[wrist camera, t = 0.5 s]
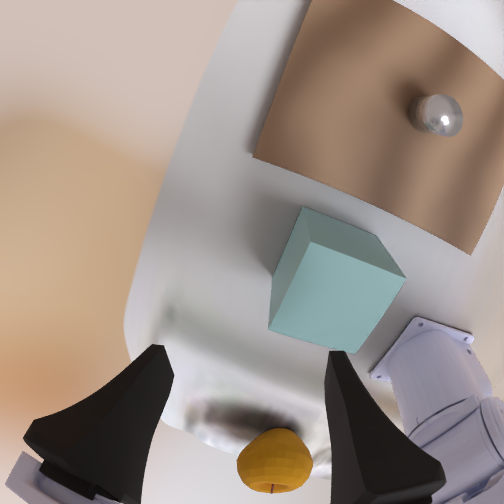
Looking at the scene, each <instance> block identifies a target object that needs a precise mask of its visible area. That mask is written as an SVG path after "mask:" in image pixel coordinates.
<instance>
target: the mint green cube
mask: <svg viewBox="0 0 504 504" xmlns="http://www.w3.org/2000/svg"><path fill="white" fill-rule="evenodd" d="M405 280H406V277H405V276H404V274H403V273H402V271H401V270H400V268H399V267H398V265H397V264H396V263H395V261H394V260H393V258H392V257H391V255H390V254H389V253H388V251H387V250H386V248H385V247H384V246H383V244H382V243H381V241H380V240H379V239H378V237H377V236H375V235H373V234H371V233H368V232H366V231H364V230H361V229H359V228H356V227H354V226H352V225H349V224H347V223H344V222H342V221H339V220H337V219H334V218H332V217H329V216H327V215H324V214H322V213H319V212H317V211H314V210H312V209H309V208H306V207H304V206H302V209H301V211H300V214H299V216H298V218H297V221H296V223H295V226H294V228H293V230H292V233H291V235H290V238H289V240H288V242H287V245H286V247H285V249H284V252H283V254H282V256H281V259H280V261H279V263H278V266H277V268H276V270H275V272H274V275H273V277H272V289H271V302H270V314H269V325H268V330H270V331H273V332H276V333H280V334H283V335H286V336H290V337H293V338H297V339H300V340H304V341H307V342H311V343H314V344H318V345H322V346H325V347H329V348H333V349H337V350H341V351H342V350H344V351H345V352H349V353H353V354H356V352H357V351H358V350H359V348H360V347H361V346H362V344H363V343H364V342H365V340H366V339H367V338H368V336H369V335H370V333H371V332H372V331H373V329H374V328H375V326H376V325H377V324H378V322H379V321H380V319H381V318H382V316H383V315H384V313H385V312H386V310H387V309H388V307H389V306H390V304H391V303H392V301H393V300H394V298H395V296H396V295H397V293H398V292H399V290H400V288H401V287H402V285H403V284H404V282H405Z"/></svg>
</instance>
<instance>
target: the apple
mask: <svg viewBox="0 0 504 504" xmlns="http://www.w3.org/2000/svg"><path fill="white" fill-rule="evenodd" d="M312 467H313V460H312V458H311V455H310V452H309V450H308V448H307V447H306V446H305V444H304V443H303V441H302V440H301V439H300V438H299V437H298V436H297V435H296V434H295V433H294V432H293V431H291V430H289V429H286V428H275V429H270V430H268V431H266V432H264V433H262V434H261V435H259V436H258V437H257V438H255V439H254V440H253V441H252V442H251V443H249V444H248V445H247V446H246V447H245V448H244V449H243V450H242V451H241V453H240V454H239V457H238V459H237V470H238V474H239V476H240V478H241V479H242V481H243V483H244V484H246V485H247V486H248V487H249V488H251V489H253V490H255V491H259V492H266V493H281V492H288V491H292V490H295V489H297V488H299V487H301V486H302V485H303V484H304V483H305V481H306V480H307V479H308V478H309V475H310V473H311V470H312Z"/></svg>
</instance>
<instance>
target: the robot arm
mask: <svg viewBox="0 0 504 504" xmlns="http://www.w3.org/2000/svg"><path fill="white" fill-rule="evenodd" d="M420 323H421V324H420ZM473 340H474V336H473V335H472V334H469V333H466V332H463V331H460V330H457V329H454V328H451V327H448V326H445V325H442V324H438V323H435V322H432V321H429V320H426V319H423V318H420V317H415V318H413V319H412V321H411V322H410V323H409V325H408V326H407V328H406V329H405V330H404V332H403V333H402V334H401V336H400V337H399V338H398V340H397V341H396V342H395V343H394V345H393V346H392V347H391V349H390V350H389V351H388V352H387V354H386V355H385V356H384V357H383V359H382V360H381V361H380V362H379V363H378V365H377V366H376V367H375V368H374V369H373V371H372V372H371V373H370V378H371V379H376V380H381V381H387V382H391V383H392V386H393V390H394V393H395V397H396V400H397V404H398V408H399V411H400V415H401V419H402V423H403V427H404V431H405V434H404V433H402V432H401V431H400V430H399V429H398V428H397V427H396V426H395V425H394V424H393V423H392V421H391V420H390V419H389V418H388V417H387V416H386V415H385V414H384V412H383V411H382V410H381V409H380V407H379V406H378V405H377V403H376V402H375V401H374V399H373V398H372V397H371V395H370V394H369V392H368V391H367V389H366V388H365V386H364V385H363V383H362V382H361V380H360V378H359V377H358V375H357V373H356V372H355V370H354V368H353V366H352V364H351V362H350V360H349V358H348V356H347V354H346V352H345V351H344V350H342V351H329V356H328V363H327V369H326V375H325V381H324V385H325V405H326V412H327V419H328V426H329V433H330V441H331V451H332V480H331V503H330V504H504V403H503V402H502V400H500V399H499V398H498V397H492V386H491V382H490V380H489V378H488V376H487V374H486V373H485V371H484V369H483V367H482V365H481V364H480V362H479V360H478V358H477V357H476V355H475V353H474V352H473V350H472V348H471V346H470V344H471V343H472V342H473ZM173 379H174V373H173V370H172V367H171V365H170V362H169V359H168V356H167V353H166V350H165V347H164V345H155V344H152V345H151V346H149V347H148V348H147V349H146V350H145V351H144V352H143V353H142V354H141V355H140V356H139V357H137V358H136V359H135V360H134V361H133V362H132V363H131V364H130V365H129V366H128V367H126V368H125V369H124V370H123V371H122V372H121V373H120V374H118V375H117V376H116V377H115V378H113V379H112V380H111V381H110V382H109V383H107V384H106V385H105V386H103V387H102V388H101V389H99V390H98V391H97V392H95V393H93V394H92V395H90V396H89V397H87V398H85V399H83V400H82V401H80V402H78V403H76V404H75V405H72V406H71V407H68V408H66V409H64V410H62V411H59V412H57V413H54V414H52V415H48V416H45V417H42V418H39V419H35V420H34V421H33V422H32V424H31V426H30V427H29V429H28V430H27V432H26V434H25V435H24V437H23V439H24V441H25V442H26V444H27V445H28V446H29V447H30V448H32V449H33V450H34V451H35V452H36V453H37V454H38V455H39V456H40V457H41V458H43V459H44V461H43V463H41V462H39V461H38V460H36V459H35V458H33V457H32V456H30V455H28V454H27V453H25V452H22V453H21V455H20V457H19V459H18V461H17V462H16V464H15V466H14V468H13V469H12V471H11V473H10V475H9V477H8V479H7V481H6V483H5V485H6V486H7V487H8V488H10V489H11V490H12V491H13V492H14V493H16V494H17V495H18V496H19V497H21V498H22V499H23V500H24V501H26V502H27V503H28V504H120V503H123V504H141V495H142V485H143V478H144V472H145V467H146V462H147V458H148V453H149V449H150V445H151V441H152V438H153V435H154V432H155V429H156V427H157V424H158V422H159V419H160V417H161V414H162V412H163V410H164V407H165V405H166V402H167V400H168V397H169V394H170V391H171V387H172V383H173ZM113 500H114V501H113ZM115 501H116V502H115ZM117 502H119V503H117Z"/></svg>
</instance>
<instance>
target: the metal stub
mask: <svg viewBox="0 0 504 504" xmlns="http://www.w3.org/2000/svg"><path fill="white" fill-rule="evenodd" d="M408 118H409V121H410V123H411V124H412V126H413V127H414V128H415V129H416V130H418V131H419V132H422V133H428V134H435V135H441V136H447V137H452V136H455V135H456V134H458V133H459V131H460V130H461V128H462V125H463V113H462V110H461V108H460V106H459V104H458V103H457V101H456V100H455V99H454V98H452V97H451V96H449V95H445V94H440V95H430V96H421V97H416V98H414V99H413V100H412V101H411V102H410V104H409V106H408Z"/></svg>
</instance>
